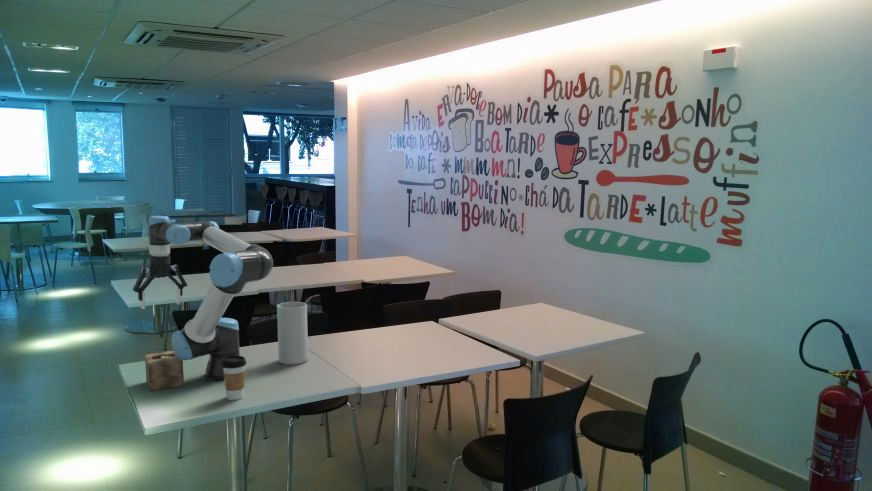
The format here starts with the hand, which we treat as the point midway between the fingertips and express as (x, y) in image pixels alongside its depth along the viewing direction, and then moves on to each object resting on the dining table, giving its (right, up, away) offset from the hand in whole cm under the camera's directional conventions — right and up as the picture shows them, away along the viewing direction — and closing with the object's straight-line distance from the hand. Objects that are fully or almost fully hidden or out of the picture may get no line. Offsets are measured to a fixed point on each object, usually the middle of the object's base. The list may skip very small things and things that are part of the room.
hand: (161, 306), depth 244 cm
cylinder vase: (+49, -26, +19) cm, 59 cm away
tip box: (+6, -29, -9) cm, 31 cm away
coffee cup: (+38, -31, -23) cm, 54 cm away
